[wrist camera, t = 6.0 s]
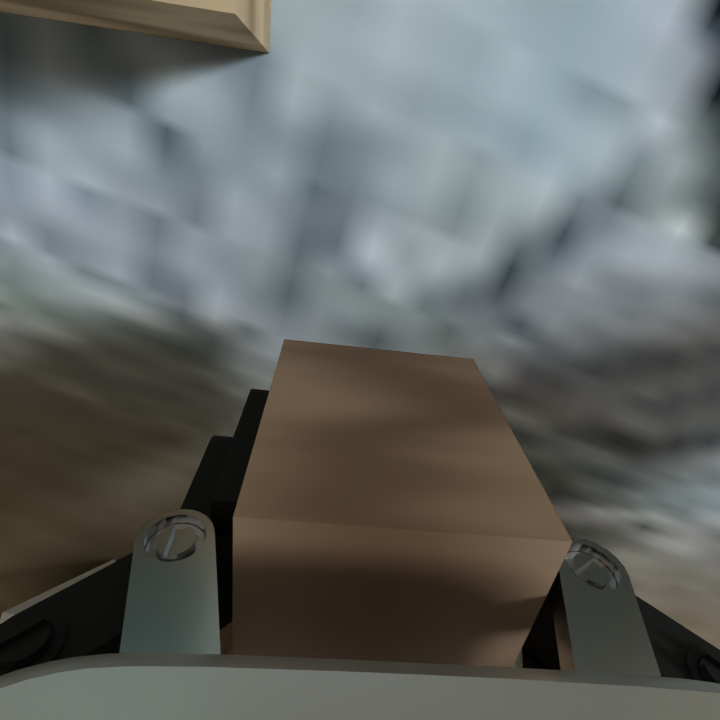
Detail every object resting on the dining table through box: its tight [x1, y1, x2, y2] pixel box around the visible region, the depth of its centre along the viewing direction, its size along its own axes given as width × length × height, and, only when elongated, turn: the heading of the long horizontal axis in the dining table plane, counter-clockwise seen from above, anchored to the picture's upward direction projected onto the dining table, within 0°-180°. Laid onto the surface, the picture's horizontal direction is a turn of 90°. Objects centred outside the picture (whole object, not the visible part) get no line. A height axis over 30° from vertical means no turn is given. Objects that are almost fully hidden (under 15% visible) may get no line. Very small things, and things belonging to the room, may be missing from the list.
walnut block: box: [232, 339, 572, 668], centre depth 10 cm, size 5×5×6 cm
